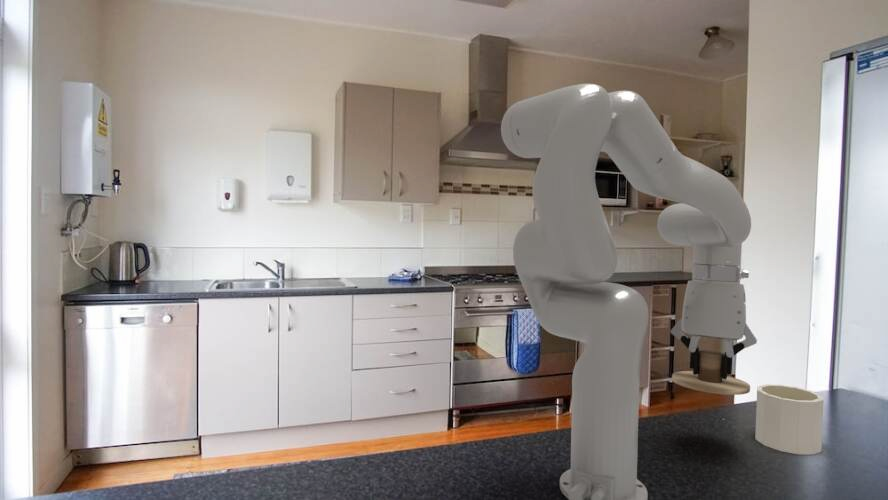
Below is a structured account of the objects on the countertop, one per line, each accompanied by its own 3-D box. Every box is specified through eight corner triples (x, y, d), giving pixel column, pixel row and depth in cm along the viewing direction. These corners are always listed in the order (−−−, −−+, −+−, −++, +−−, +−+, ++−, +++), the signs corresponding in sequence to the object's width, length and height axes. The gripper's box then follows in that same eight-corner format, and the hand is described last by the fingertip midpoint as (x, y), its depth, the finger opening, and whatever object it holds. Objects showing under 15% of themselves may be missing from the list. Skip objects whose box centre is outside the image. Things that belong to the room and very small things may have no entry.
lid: (748, 399, 85) (750, 364, 85) (666, 385, 92) (668, 352, 91) (750, 383, 95) (752, 352, 95) (677, 371, 102) (678, 342, 102)
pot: (823, 459, 89) (825, 405, 89) (754, 445, 95) (756, 395, 95) (818, 439, 98) (820, 390, 98) (756, 428, 103) (757, 381, 103)
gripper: (769, 277, 92) (764, 379, 92) (669, 271, 101) (664, 364, 101) (769, 279, 85) (764, 388, 86) (662, 272, 94) (657, 371, 95)
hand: (710, 374), depth 93 cm, fingers closed on lid, 4 cm apart
